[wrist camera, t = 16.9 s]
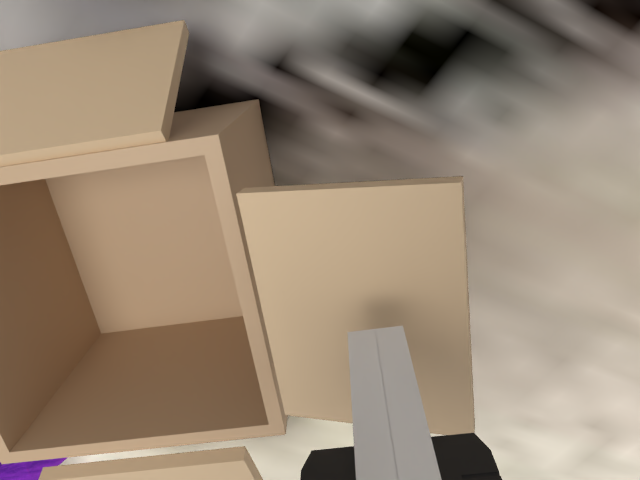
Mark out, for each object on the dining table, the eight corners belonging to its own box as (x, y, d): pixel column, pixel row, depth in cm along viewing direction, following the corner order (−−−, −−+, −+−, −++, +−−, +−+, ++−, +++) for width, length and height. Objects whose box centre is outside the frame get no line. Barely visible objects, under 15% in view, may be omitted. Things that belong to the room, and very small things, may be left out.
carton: (242, 16, 24) (187, 3, 15) (299, 312, 30) (285, 435, 21) (-77, 70, 26) (-312, 89, 16) (39, 345, 32) (-84, 474, 22)
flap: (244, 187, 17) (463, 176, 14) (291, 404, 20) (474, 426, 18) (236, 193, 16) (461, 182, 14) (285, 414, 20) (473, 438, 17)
